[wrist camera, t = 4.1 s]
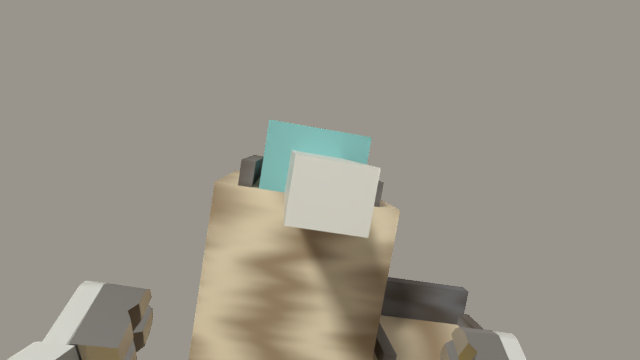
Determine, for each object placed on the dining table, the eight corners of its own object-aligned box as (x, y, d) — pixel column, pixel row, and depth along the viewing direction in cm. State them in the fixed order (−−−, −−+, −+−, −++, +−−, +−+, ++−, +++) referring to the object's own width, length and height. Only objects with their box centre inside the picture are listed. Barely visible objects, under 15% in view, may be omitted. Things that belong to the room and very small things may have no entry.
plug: (340, 188, 30) (348, 139, 30) (408, 243, 14) (429, 133, 13) (265, 176, 30) (273, 126, 29) (240, 219, 13) (258, 101, 13)
